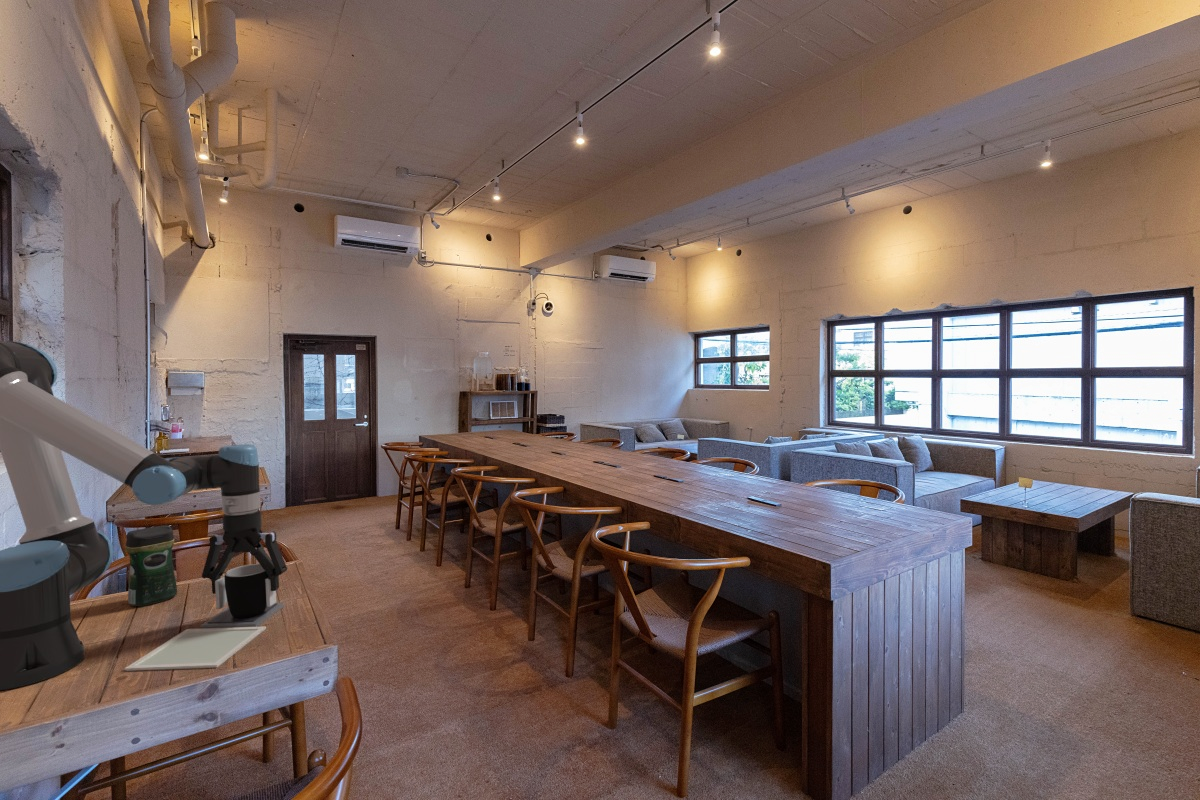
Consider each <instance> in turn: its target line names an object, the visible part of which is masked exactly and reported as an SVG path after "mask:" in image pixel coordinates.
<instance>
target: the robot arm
mask: <svg viewBox="0 0 1200 800" xmlns="http://www.w3.org/2000/svg"><path fill="white" fill-rule="evenodd" d="M57 378H58V369H57V366H56V363H55V362H54V360H53V359H52V358H51V356H49V355H48V354H47V353H46V352H45V351H43V350H41V348H38V347H36V346H33V345H30V344H27V343H24V342H19V341H16V340H15V341H14V340H6V341H4V340H0V454H1V457H2V461H3V463H4V466H5V468H6V472H7V475H8V478H9V480H10V484H11V487H12V489H13V492H14V495H15V499H16V502H17V505H18V508H19V511H20V514H21V516H22V520H23V522H24V523H23V524H24V525H25V529H26V530H25V532H24V534H23V535H22V536H21V537H20V539H19V540H18V542H19V544H17V545H16V546H12V547H11V546H10V547H6V548H3V549H2V550H0V691H4V690H11V689H15V688H21V687H25V686H28V685H32V684H35V683H38V682H41V681H45V680H48V679H50V678H53V677H56V676H58V675H60V674H62V673H63V674H64V673H65V672H67V671H69V670H71V669H72V668H75V667H76V666H77V665H79V664H80V663H81V662H82V661H83V660H84V658H85V645H84V643H83V642H82V641H81V640H80V639H79V635H78V633H77V630H76V628H75V627H74V624H73V622H72V618H71V596H72V595H73V594H75V593H76V592H77V591H78V592H79V591H80V590H81V589H83V588H85V587H87V586H89V585H91V584H93V583H94V582H95V581H97V580H98V579H99V578H100V577H101V576H102V575H103V574H104V573H105V572H106V571H107V570H108V569H109V568H110V566H111V564H112V562H113V559H114V546H113V543H112V541H111V539H109V537H108V536H107V535H106V534H104V533H102V532H100V531H98V530H97V527H96V524H95V521H94V519H93V518H90V517H87V516H84V515H83V514H82V512H81V508H80V505H79V501H78V499H77V496H76V492H75V489H74V486H73V483H72V480H71V477H70V475H69V474H70V473H69V472H68V468H67V464H66V462H65V458H64V455H63V453H62V452H64V453H66V454H67V455H69V456H71V457H74V458H75V459H77V460H79V461H81V462H83V463H85V464H86V465H88V466H90V467H92V468H94V469H96V470H97V471H100V472H101V473H103V474H105V475H107V476H109V477H111V478H113V479H115V480H116V481H118V482H120V483H121V484H123V485H126V486H128V487H129V488H131V490H132V493H133V495H134V496H135V497H136V499H137V500H138V501H140V502H141V503H144V504H146V505H150V506H157V505H158V506H159V505H164V504H167V503H171V502H173V501H175V500H177V499H178V498H180V497H181V496H183V495H186V494H188V493H191V492H192V491H197V490H207V489H220V491H221V492H220V493H221V494H220V495H221V508H222V510H221V512H223V515H222V529H223V531H224V532H223V534H220V533H217V534H215V535H212V536H210V537H209V549H208V551H207V556H206V560H205V562H204V563H205V564H204V566H203V570H202V573H201V577H202V578H203V579H208V580H210V581H211V592H212V594H213V595H215V605H216V606H215V607H216V610H220V609H222V608H224V607H225V606H226V605H227V606H228V602H227V597H226V589H225V576H224V574H225V570H227V567H228V566H229V564H230V562H231V561H232V558H233V557H234V556H235V554H238V553H242V552H243V553H249V554H250V555H251V556H254V558H255V560H256V561H257V562H258V564H260V565H261V566H262V568H263V569H264V570H265V571H266V573H267V575H268V576H269V577H268V578H266V579H265V582H266V602H267V607H270V606H272V605H273V604H274V603H277V592H276V591H278V590H279V588H280V577H279V576H280V575H282V574H284V573H285V572H287V571H288V567H287V564H286V562H285V559H284V556H283V554H282V552H281V549H280V546H279V544H278V542H277V533H276V531H271V532H263V530H262V511H261V510H260V508H261V492H260V488H261V487H260V462H259V456H258V449H257V447H256V446H255V445H254V444H247V443H246V444H236V445H235V444H234V445H233V444H232V445H224V446H221V447H220V448H219V449H218V454H215V455H214V454H213V455H206V456H205V455H204V456H203V455H202V456H184V457H179V456H174V457H170V458H169V457H168V458H164V457H162V456H160V455H158V454H156V453H155V452H154V451H152V450H150V449H148V448H146V447H145V446H143V445H141V444H140V443H138V442H136V441H135V440H132V439H130V438H128V437H127V436H126V435H124V434H122V433H120V432H118V431H116V430H114V429H113V428H111V427H109V426H107V425H105V424H104V423H103V422H101V421H98V420H97V419H95V418H93V417H92V416H90V415H88V414H86V413H84V412H83V411H81V410H80V409H78V408H75V407H74V406H72V405H71V404H69V403H67V402H65V401H63V400H62V399H59V398H58V397H56V396H55V395H54V393H53V389H52V388H53V386H54V385H55V383H56V382H57ZM262 540H263V543H265V547H266V550H265V547H264V545H263V544H262V543H261V541H262ZM223 543H225V544H226V548H225V549H224V551H223V553H222V554H223V555H222V556H221V558H220V559H219V557H220V553H221V549H222V546H223V545H222V544H223ZM266 551H267V552H268V553H267V552H266ZM218 559H219V561H218Z"/></svg>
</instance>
